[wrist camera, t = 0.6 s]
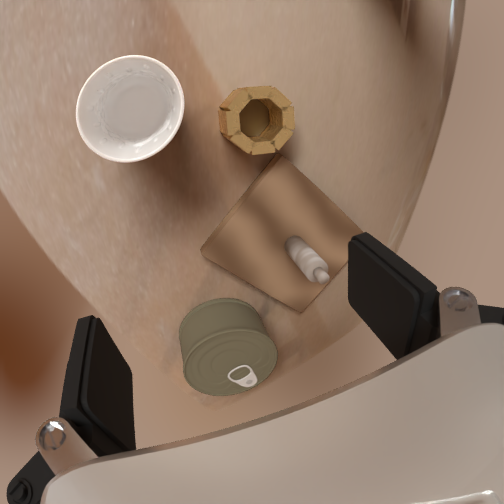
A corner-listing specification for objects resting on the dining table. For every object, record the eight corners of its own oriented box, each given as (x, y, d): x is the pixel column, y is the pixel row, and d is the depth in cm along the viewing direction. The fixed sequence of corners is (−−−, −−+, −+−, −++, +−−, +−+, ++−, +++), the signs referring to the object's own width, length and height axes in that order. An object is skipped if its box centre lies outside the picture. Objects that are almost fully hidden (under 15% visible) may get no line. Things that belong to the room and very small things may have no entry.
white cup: (187, 126, 30) (199, 136, 22) (116, 157, 29) (100, 180, 21) (162, 57, 26) (164, 38, 17) (89, 89, 25) (61, 86, 17)
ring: (246, 75, 29) (258, 72, 26) (291, 114, 32) (307, 117, 29) (205, 122, 30) (212, 125, 27) (253, 159, 34) (264, 167, 30)
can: (233, 279, 40) (248, 312, 34) (275, 332, 46) (292, 364, 40) (159, 328, 40) (162, 365, 34) (210, 372, 47) (219, 406, 41)
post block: (277, 153, 34) (316, 172, 26) (361, 232, 42) (404, 265, 34) (200, 249, 37) (214, 295, 29) (296, 306, 45) (326, 351, 37)
